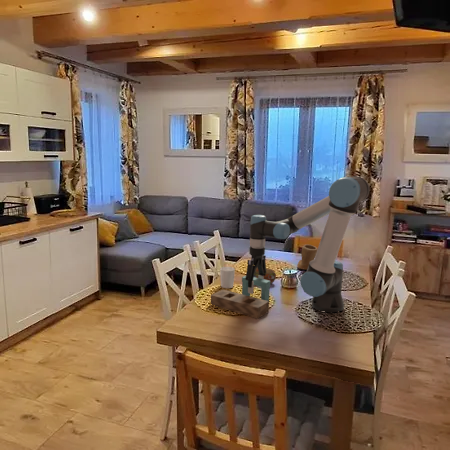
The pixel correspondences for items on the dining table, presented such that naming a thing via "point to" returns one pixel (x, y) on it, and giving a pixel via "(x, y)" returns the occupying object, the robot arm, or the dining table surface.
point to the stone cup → (307, 256)
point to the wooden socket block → (240, 303)
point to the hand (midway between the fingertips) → (255, 290)
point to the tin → (267, 275)
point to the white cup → (227, 277)
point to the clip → (259, 282)
